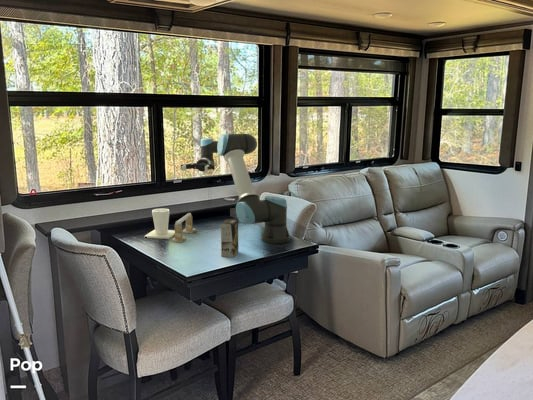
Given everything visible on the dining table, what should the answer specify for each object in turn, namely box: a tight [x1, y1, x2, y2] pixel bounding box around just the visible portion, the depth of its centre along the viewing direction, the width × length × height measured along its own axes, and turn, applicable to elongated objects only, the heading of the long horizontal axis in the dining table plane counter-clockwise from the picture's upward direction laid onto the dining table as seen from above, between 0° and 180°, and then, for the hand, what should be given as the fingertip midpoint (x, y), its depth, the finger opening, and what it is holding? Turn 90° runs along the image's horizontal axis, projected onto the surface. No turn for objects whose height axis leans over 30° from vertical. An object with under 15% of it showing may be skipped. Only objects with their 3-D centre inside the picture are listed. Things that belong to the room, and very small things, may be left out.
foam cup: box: [151, 208, 171, 235], centre depth 252 cm, size 10×9×13 cm
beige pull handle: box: [171, 215, 196, 243], centre depth 250 cm, size 23×6×9 cm, turn 172°
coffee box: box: [220, 219, 239, 258], centre depth 218 cm, size 9×6×16 cm
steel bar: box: [174, 212, 192, 225], centre depth 249 cm, size 22×2×2 cm, turn 172°
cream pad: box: [144, 228, 175, 240], centre depth 253 cm, size 14×14×1 cm
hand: (193, 168), depth 258 cm, fingers open, 13 cm apart
